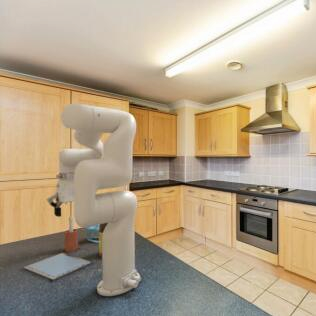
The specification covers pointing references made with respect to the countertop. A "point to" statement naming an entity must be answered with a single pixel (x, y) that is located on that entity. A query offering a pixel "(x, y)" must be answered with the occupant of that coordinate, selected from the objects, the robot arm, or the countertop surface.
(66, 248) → the pen pot
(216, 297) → the countertop surface
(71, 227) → the stylus
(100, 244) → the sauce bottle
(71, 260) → the plate
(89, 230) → the chair
